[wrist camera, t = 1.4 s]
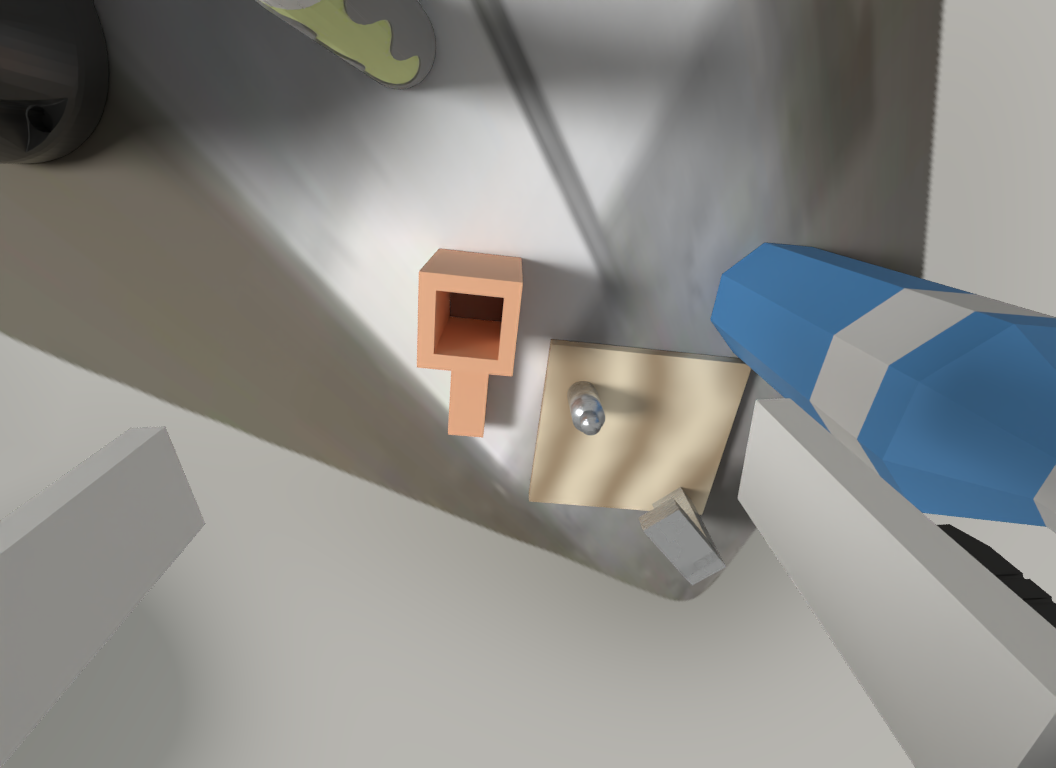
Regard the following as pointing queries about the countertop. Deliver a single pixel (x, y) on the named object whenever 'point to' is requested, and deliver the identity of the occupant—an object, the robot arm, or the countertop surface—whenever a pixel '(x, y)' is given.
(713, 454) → the board
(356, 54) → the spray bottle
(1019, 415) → the water bottle
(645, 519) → the block
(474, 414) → the link
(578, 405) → the pintle
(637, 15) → the countertop surface
